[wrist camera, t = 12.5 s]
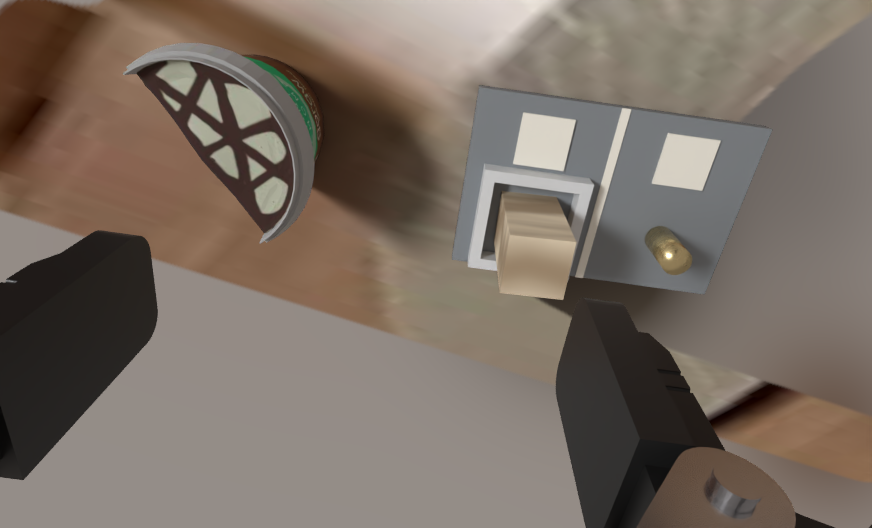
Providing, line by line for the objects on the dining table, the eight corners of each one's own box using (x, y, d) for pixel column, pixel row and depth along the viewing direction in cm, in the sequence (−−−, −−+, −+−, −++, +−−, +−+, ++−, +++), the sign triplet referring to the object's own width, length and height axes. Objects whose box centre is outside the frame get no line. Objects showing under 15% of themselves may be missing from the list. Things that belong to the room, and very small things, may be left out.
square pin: (501, 190, 39) (509, 234, 32) (556, 196, 39) (576, 242, 32) (493, 240, 41) (499, 292, 34) (546, 246, 41) (562, 299, 34)
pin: (649, 224, 40) (667, 247, 36) (675, 228, 40) (696, 251, 36) (641, 248, 41) (657, 272, 37) (667, 252, 41) (686, 277, 37)
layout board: (479, 85, 37) (480, 91, 35) (765, 126, 37) (784, 134, 35) (452, 253, 43) (451, 268, 41) (699, 288, 43) (712, 304, 41)
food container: (375, 154, 40) (349, 201, 31) (308, 194, 41) (265, 250, 32) (269, -6, 35) (202, -5, 26) (199, 46, 37) (115, 64, 28)
